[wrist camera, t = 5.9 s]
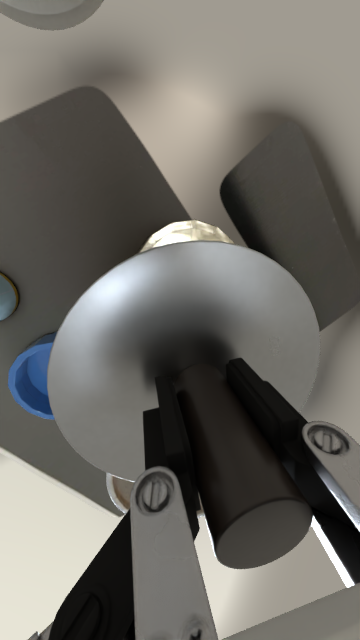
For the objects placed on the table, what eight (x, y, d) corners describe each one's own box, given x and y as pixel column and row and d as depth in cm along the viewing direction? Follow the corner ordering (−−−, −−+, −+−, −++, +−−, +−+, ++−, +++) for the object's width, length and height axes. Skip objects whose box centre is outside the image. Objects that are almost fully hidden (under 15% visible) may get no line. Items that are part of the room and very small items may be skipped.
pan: (9, 340, 31) (-8, 353, 27) (98, 324, 33) (94, 334, 29) (39, 409, 35) (28, 428, 32) (117, 392, 37) (115, 408, 33)
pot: (125, 232, 29) (122, 228, 21) (214, 221, 31) (241, 213, 23) (142, 319, 34) (144, 342, 26) (219, 305, 35) (244, 323, 28)
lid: (6, 267, 9) (-428, 344, 2) (314, 221, 10) (626, 178, 4) (98, 493, 13) (62, 738, 7) (299, 434, 15) (427, 581, 8)
